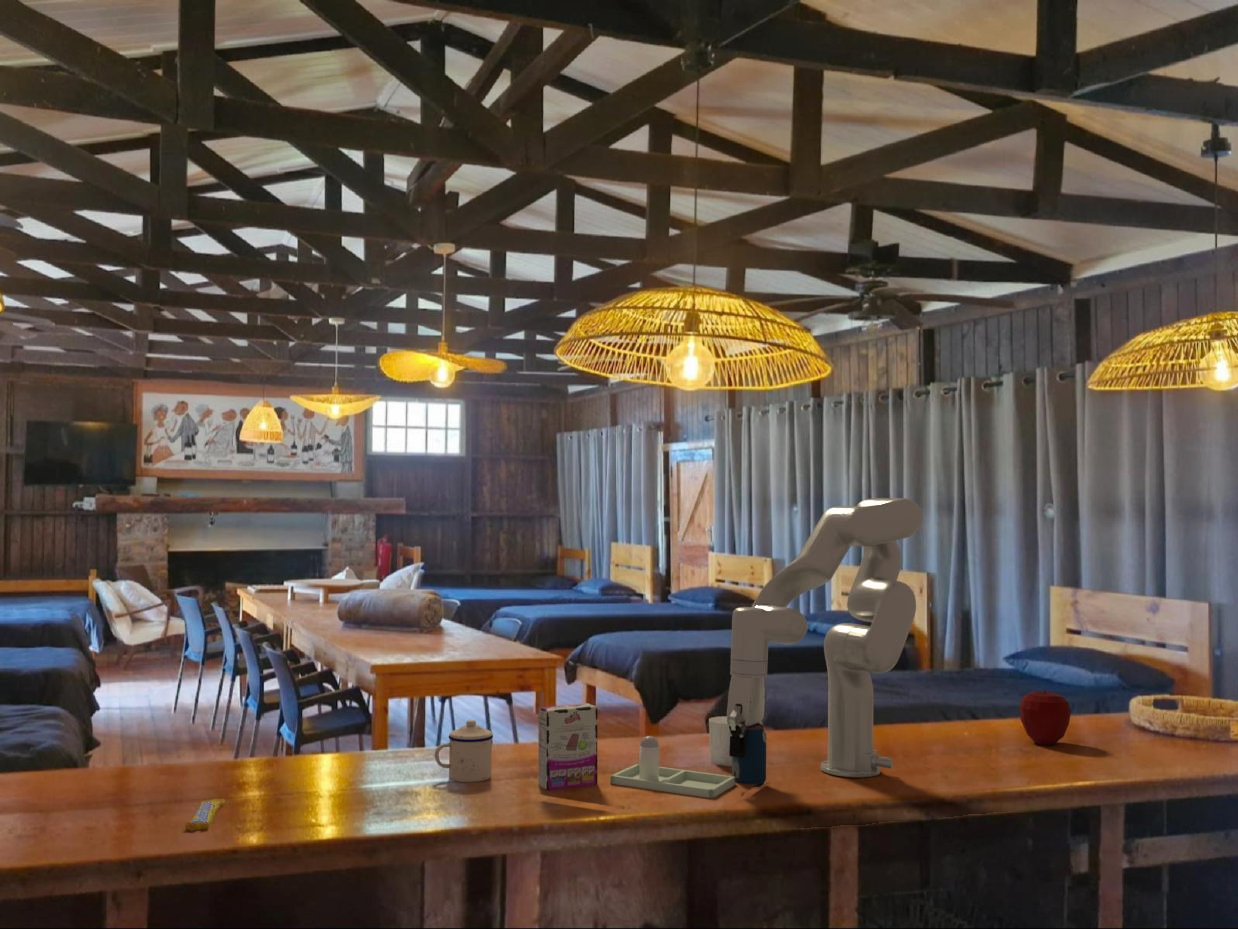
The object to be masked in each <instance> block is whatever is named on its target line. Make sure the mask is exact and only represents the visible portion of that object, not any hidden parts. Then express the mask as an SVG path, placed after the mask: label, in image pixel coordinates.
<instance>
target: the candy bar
mask: <svg viewBox="0 0 1238 929" xmlns="http://www.w3.org/2000/svg"><path fill="white" fill-rule="evenodd" d="M225 801H226V800H225V799H224V798H218V799H217V798H214V799H206V800H201V802H200V805H199V807H198V809H197V811H196V812H195V814H194V815H193V817H192V818H191V820H190V821H187V822H186V824H185V827H184V829H185V830H186V831H189V832H191V831H193V832H194V831H203V830H208V829H209V828H210V825H211V823H212V822H213V821H214V819H215V818H216V816H217V814H218V812H219V810H220V809H221V807H222V805H223V804H225Z"/></svg>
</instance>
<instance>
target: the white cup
mask: <svg viewBox="0 0 1238 929" xmlns="http://www.w3.org/2000/svg"><path fill="white" fill-rule="evenodd" d="M708 727H709V728H708V730H709V750H710V764H711V765H717V766H725V767H731V768H732V756H730V755H729V749H730V735H729V733H730V729H729V727H730V724H728V723H727V716H725V715H724V716H723V715H722V716H714V717H710V718H709V719H708Z"/></svg>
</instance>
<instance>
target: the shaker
mask: <svg viewBox="0 0 1238 929" xmlns="http://www.w3.org/2000/svg"><path fill="white" fill-rule="evenodd" d="M638 755H639V757H638V759H639V761H638V762H639V763H638V764H639V779H645V780H652V781H659V767H660V745H659V741H658V740H657V738H656V737H654V736H652V735H646V736H644V737H643V738H642V739H641V740H640V743H639V754H638Z"/></svg>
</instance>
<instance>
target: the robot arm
mask: <svg viewBox="0 0 1238 929" xmlns="http://www.w3.org/2000/svg"><path fill="white" fill-rule="evenodd" d="M922 523H923V513H922V510H921V508H920V506H919V505H918V504H917V502H916V501H914V500H912V499H909V498H906V497H905V498H904V497H897V498H896V497H894V498H893V497H891V498H890V497H889V498H888V497H875V498H874V497H873V498H866V499H864V500H861V501H859V503H857V505H856V506H854V505H853V506H852V505H850V506H849V505H848V506H847V505H842V506H841V505H840V506H833V507H830V508H829V509H827V510H826V511H825V512H823V514H822V516H821V517H820V519H819V520H818V522H817V523H816V526H815V527H814V529H813V530H812V531H811V534H810V535H809V537H808V539H807V540H806V542H805V544H804V545H803V547H802V549H801V550H800V552H799V554H798V555H797V556H796V558H795V559H794V560H793V561H791V562H790V563H789V564H788V565H786V566H785V567H784V568H783V569H781V570H780V571H779V572H778V573H777V574H775V575H774V576H773V577H771V578H770V580H768V581H767V583H766V584H765V585H764V586H763V587H762V589H761V590H760V592H759V593H758V595H757V596H756V598H755V600H754V601H753V603H752V604H751V607H750V606H741V607H737V608H734V610H733V612H732V615H731V616H732V617H731V640H730V641H731V644H730V645H731V646H730V666H729V667H730V672H729V675H730V676H731V677H730V682H729V689H728V698H727V710H726V717H727V723H728V724H730V727H729V729H730V733H729V735H730V749H729V755H730V756H732V757H738V758H744V757H745V749H746V738H745V737H744V735H745V731H746V728H747V727H749V726H752V725H754V724H761V725H763V726H764V723H763V722H764V718H765V717H764V716H765V705H766V702H765V699H766V696H765V695H766V694H765V693H766V692H765V691H766V690H765V678H767V677H768V664H769V662H768V660H769V657H768V656H769V655H768V654H769V643H775V644H783V645H794V644H797V643H799V642H800V641H802V640H803V639H804V638H805V637H806V635H807V632H808V630H809V629H808V628H809V626H808V621H807V618H806V617H805V615H804V614H803V613H802V612H801V611H799V610H797V609H795V608H791V607H788V606H789V605H790V604H791V602H793V601H794V600H796V598H798V597H799V596H801V595H803V594H804V593H806V592H809V591H812V590H814V589H817V588H819V587H821V586H824V585H825V584H828V582H830V581H831V580H832V578H833V577H834V575H835V573H836V572H837V570H838V569H839V566H840V565H841V563H842V561H843V560H844V558H845V557H846V555H847V553H848V552H849V550H850V548H851V547H853V546H854V547H863V553H862V554H863V555H862V559H861V561H860V564H859V568H858V570H857V573H856V574H855V577H854V581H853V582H852V586H851V588H850V590H849V594H848V596H847V602H846V608H847V611H848V613H849V614H850V616H851V617H853V618H855V619H857V620H859V621H863V622H868V623H871V624H870V625H866V624H860V623H859V624H858V623H852V622H842V623H838V624H835V625H833V626H832V627H831V628H830V629H829V630H827V633H826V635H825V637H824V642H823V652H824V659H825V663H826V668H827V678H828V679H827V682H828V684H827V685H828V689H827V690H828V691H827V692H828V698H827V699H828V700H827V704H828V705H827V717H828V718H827V726H828V727H827V735H828V736H827V737H828V738H827V739H828V740H827V760H823V761H821V763H820V770H821V771H822V772H824V773H826V774H829V775H833V776H837V777H844V778H868V777H869V778H871V777H875V776H879V775H880V773H881V768H883V769H893V767H894V760H893V759H891V758H890V757H888V756H887V757H886V756H880V755H878V751H877V749H874V684H873V681H872V680H873V679H872V677H871V675H870V673H873V674H885V673H887V672H889V671H891V670H892V669H893V668H894V667H895V666H896V664H897V663H898V662H899V659H900V657H901V655H902V652H903V650H904V646H905V644H906V641H907V639H908V635H909V633H910V630H911V628H912V625H913V622H914V619H915V617H916V616H915V615H916V612H917V601H916V600H917V599H916V596H915V593H914V591H913V589H912V588H911V587H910V586H909V584H907V583H905V582H903V581H900V580H898V578H899V575H900V572H901V568H902V562H903V561H902V560H903V559H902V553H901V550H900V546H899V545H898V542H897V541H899V540H904V539H908V538H910V537H912V536H914V535H915V534H916V533H917V532H918V531H919V529H920V528H921V526H922ZM740 727H742V728H741V730H740Z"/></svg>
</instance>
